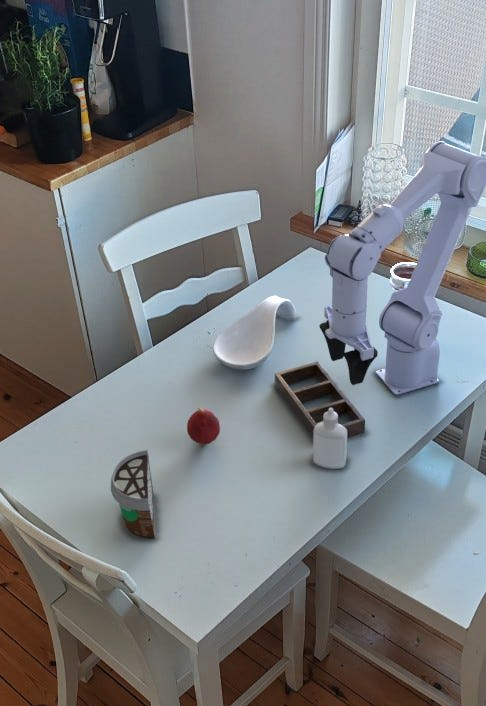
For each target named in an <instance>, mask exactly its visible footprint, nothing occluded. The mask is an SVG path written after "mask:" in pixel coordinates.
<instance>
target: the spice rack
mask: <svg viewBox="0 0 486 706" xmlns="http://www.w3.org/2000/svg"><path fill="white" fill-rule="evenodd" d="M313 378H316V379H317V380H318V381H319V382H318V383H315V384H310V385H307V386H304V387H301V388H300V387H299V388H297V389H293V390H292V389H291V387H290V385H292V384H296V383H300V382H302V381H307V380H309V379H313ZM274 387H275V388H276V389H277V391H278V392H279V394H280V395H281V396H282V398H283V399H284V401H285V402H286V403H287V405H288V406H289V408H290V409H291V411H292V412H293V413H294V414H295V416H296V417H297V419H298V420H299V422H300V423H301V425H302V426H303V427H304V428H305V430H306V431H307V432H308V434H309V436H310V437H311V438H312V439H313V433H314V428H315V426H316V424H318V423H321V422H323V415H324V413H325V412H327V411H328V410H329V408H333V411H334V412H336V413H337V414H338V417H340V416H343V415H345V416H346V417H347V418H348V420H349V421H348V422H345V423H341V424H340V425H342V426H343V427H345V428H346V429H347V439H350V438H353V437H356V436H359V435H362V434H365V432H366V418H364V417H363V415H362V414H361V413H360V412H359V410H358V409H357V408H356V406H355V405H354V404H353V403H352V401H351V400H350V399H349V398H348V396H347V394H345V393H344V391H342V389H341V388H340V387H339V386H338V384H337V382H335V381H334V379H333V378H332V377H331V376H330V374H329V373H328V372H327V371H326V369H325V368H324V367H323V366H322V364H321V363H320V362H319V361H317V360H316V361H314V362H311V363H307V364H304V365H300V366H297V367H292V368H290V369H286V370H283V371H279V372H276V373H275V372H274ZM327 396H330V397H331V398H332V400H333V402H330V403H329V402H328V403H326V404H323V405H318V406H316V407H312V408H309V409H306V408H305V407H304V405H303V404H304V403H308V402H312V401H315V400H318V399H321V398H326V397H327Z"/></svg>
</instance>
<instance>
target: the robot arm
mask: <svg viewBox="0 0 486 706" xmlns="http://www.w3.org/2000/svg"><path fill="white" fill-rule="evenodd" d="M485 188H486V157H485V156H484V155H478V154H475V153H472V152H470V151H467V150H464V149H461V148H459V147H456V146H453V145H451V144H448V143H447V142H445V141H442V140H439V141H436V142H434V143H433V144H432V145H431V146H430V147H429V148H428V149H427V151H426V152H424V153H423V154H422V156H421V159H420V164H419V170H418V171H417V172H416V173H415V175H414V176H412V178H411V179H410V180H409V181H408V182H407V183H406V185H405V186H404V187H403V188H402V189H401V191H400V192H399V193H397V195H396V196H395V197H394V199H392V201H391V202H390V203H389V204H379V205H377V206H376V207H375V208H374V209H373V210H372V211H370V213H368V215H367V216H366V217H365V218H363V219H362V220H361V221H360V222H359V223H358V224H357V225H356V226H355V227H354V228H353V229H352V230H351V231H349V233H348V234H347V233H344V234H341V235H337V236H336V237H335V238H333V239H332V240H331V242H330V243H329V245H328V247H327V251H326V254H325V255H324V262H325V264H326V265H327V267H328V268H329V276H330V277H331V278H332V283H331V284H332V287H331V289H332V290H331V305H327V306H325V307H324V311H323V312H324V313H323V314H324V315H323V317H324V318H325V319H326V321H324V322H322V323H320V324H319V329H320V331H321V332H322V335H323V337H324V339H325V342H326V346H327V348H328V354H329V357H330V360H331V361H332V362H336V361H339V360H343V359H345V362H346V364H347V368H348V376H349V378H348V379H349V382H350V384H351V386H356V385H359V384H362V383H363V382H364V380H365V378H366V374H367V372H368V370H369V368H370V366H371V365H372V363H373V362H374V360H375V359H377V357H378V354H379V352H378V350H377V348H375V346H373V345H372V344H371V339H370V336H369V331H368V327H367V324H366V323H367V307H368V305H367V304H368V303H367V301H368V286H369V276H370V275H371V274H372V273H373V271H374V269H375V268H376V266H377V263H378V261H379V260H380V259H381V257H382V252H384V250H385V249H386V248H388V247H389V245H390V244H392V242H393V241H394V240H396V239H397V238H398V236H400V235H401V234H402V232H403V231H404V228H405V227H404V223H405V222H404V221H405V220H406V219H407V218H409V217H410V216H411V215H412V214H413V213H414V212H416V211H417V210H418V209H419V208H421V207H422V206H423V205H425V204H426V203H427V202H428V201H429V200H431V199H432V198H433V197H434V196H435V195H438V198H439V201H440V205H439V208H438V210H437V212H436V215H435V217H434V220H433V222H432V224H431V227H430V230H429V232H428V234H427V237H426V240H425V242H424V244H423V247H422V249H421V251H420V254H419V257H418V259H417V261H416V263H415V264H416V266H415V269H414V271H413V274H412V276H411V279H410V281H409V283H408V286H407V288H405V289H402V290H399V291H396V292H395V291H394V292H392V293H391V296H390V298H389V300H388V301H387V303H386V304H385V305H384V307H383V308H382V310H381V312H380V314H379V319H378V326H379V329H380V330H381V331H383V332H384V338H385V339H386V341H387V343H386V352H385V353H386V355H385V365H384V366H385V367H384V368H380V369H378V370H376V371H375V374H376V375H377V376H378V378H379V379H380V380H381V381H382V383H384V384H385V386H386V387H387V388H388V389H389V390H390V391H391V392H392V394H393V395H395V396H399V395H403V394H406V393H409V392H413V391H415V390H419V389H423V388H425V387H429V386H431V385H432V386H433V385H435V384H438V383H439V382H440V380H439V378H438V371H439V363H440V356H441V353H440V351H441V349H440V344H439V341H438V340H437V336H438V334H439V326H440V322H441V319H442V316H443V312H442V309H441V307H440V306H439V303H438V302H437V300H436V295H437V292H438V290H439V288H440V285H441V282H442V280H443V278H444V275H445V273H446V270H447V268H448V266H449V263H450V261H451V259H452V256H453V254H454V252H455V249H456V247H457V244H458V243H459V240H460V238H461V235H462V233H463V231H464V229H465V226H466V224H467V221H468V219H469V216H470V214H471V212H472V210H473V208H476V207H477V206H478V204H479V202H480V199H481V198H482V195H483V192H484V190H485ZM346 346H349V347H351V348H352V349H353V350H349V351H346Z"/></svg>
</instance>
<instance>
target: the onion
mask: <svg viewBox="0 0 486 706" xmlns="http://www.w3.org/2000/svg"><path fill="white" fill-rule="evenodd" d="M220 425H221V424H220V421H219V419H218V417H217V416H216V415H215V414H214V413H213V412H212V411H211V410H208V409H203V407H198V409H197V410H196V411H194V412H193V413H192V414H191V415H190V417H189V418H188V420H187V423H186V431H187V435H188V436H189V438H190V439H191V441H193V442H194V443H196V444H199V445H210V444H211V443H213V442H214V441H216V439H217V438H218V436H219V435H220V432H221V426H220Z"/></svg>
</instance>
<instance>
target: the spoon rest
mask: <svg viewBox="0 0 486 706" xmlns="http://www.w3.org/2000/svg"><path fill="white" fill-rule="evenodd" d="M276 315H278V316H281V317H284V318H288V319H292V320H293V319H296V318H297V317H298V316H297V310H296V307H295V305H294V303H293V302H292V301H291V300H290V299H288V298H281V297H279V296H278V295H270V296H269V297H266V298H265V299H264V300H262V301H261V302H260V303H259V304H257V306H255V307H254V308H252V310H250V311H249V312H248V313H246V314H245V315H243V316H242V317H240V318H239V319H238V320H236V321H235V322H234V323H232V324H231V325H230V326H228V327H227V328H226V329H225V330H223V331H222V332H220V334H219V335H218V336H217V337H216V338H215V340H214V342H213V344H212V352H213V355H214V357H215V358H216V360H218V361H219V362H220V363H221V364H222V365H224V366H225V367H228V368H231V369H234V370H250V369H253V368H257V367H258V366H259V365H261V364H263V363H264V362H265V361H266V360H267V359H268V357H269V356H270V355H271V353H272V350H273V347H274V343H275V329H276V328H275V326H276Z"/></svg>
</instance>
